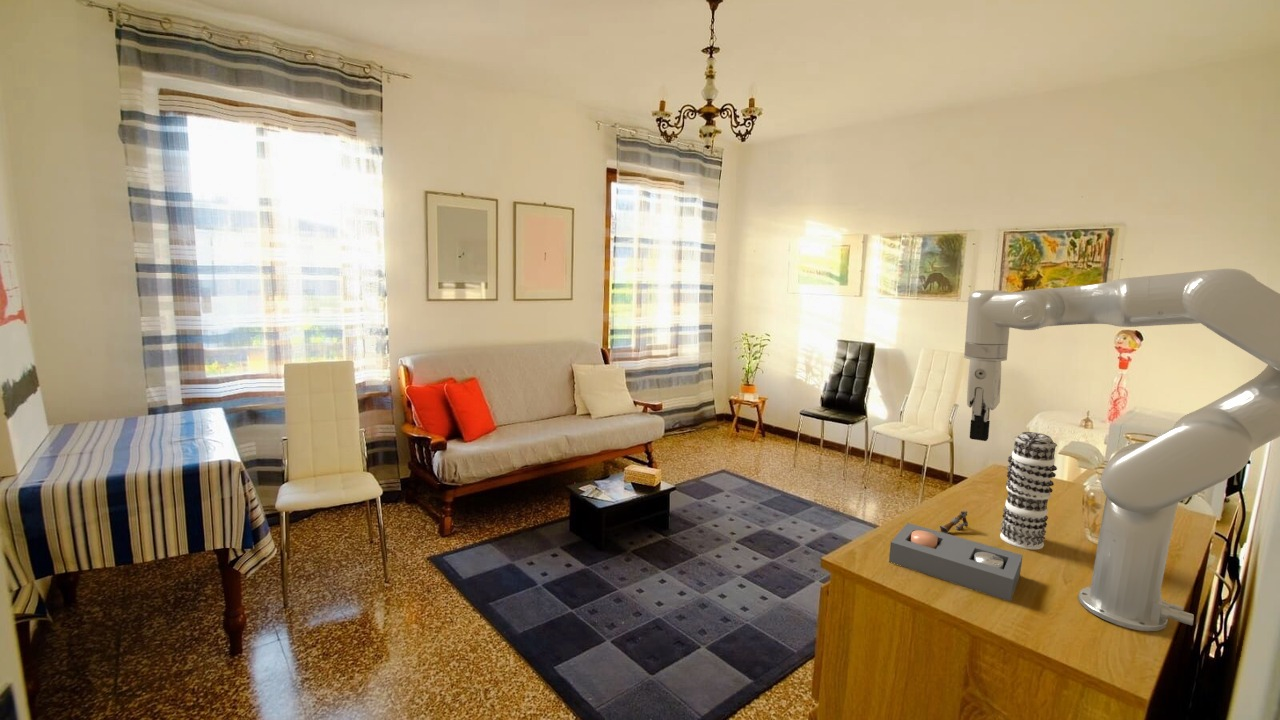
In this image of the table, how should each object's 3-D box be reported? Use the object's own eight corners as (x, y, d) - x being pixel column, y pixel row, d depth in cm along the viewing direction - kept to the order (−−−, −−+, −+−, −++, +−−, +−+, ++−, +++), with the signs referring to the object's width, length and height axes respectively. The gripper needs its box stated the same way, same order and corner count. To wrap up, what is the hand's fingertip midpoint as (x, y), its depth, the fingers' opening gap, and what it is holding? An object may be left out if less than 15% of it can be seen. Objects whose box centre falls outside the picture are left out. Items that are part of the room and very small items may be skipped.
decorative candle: (1006, 547, 131) (1020, 439, 127) (992, 529, 140) (1005, 427, 135) (1052, 553, 129) (1069, 443, 124) (1035, 533, 138) (1050, 430, 133)
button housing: (1019, 575, 119) (1022, 555, 119) (1010, 601, 110) (1013, 579, 109) (905, 541, 133) (907, 522, 132) (888, 561, 124) (890, 542, 123)
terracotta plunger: (938, 552, 126) (940, 535, 125) (932, 561, 122) (934, 543, 121) (913, 545, 129) (915, 528, 128) (906, 553, 125) (908, 536, 124)
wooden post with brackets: (973, 525, 140) (969, 510, 139) (949, 543, 138) (946, 528, 136) (966, 522, 142) (962, 507, 140) (943, 540, 139) (939, 525, 138)
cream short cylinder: (1003, 575, 118) (1005, 557, 118) (998, 586, 114) (1001, 567, 114) (974, 567, 121) (977, 549, 121) (969, 577, 118) (972, 558, 117)
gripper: (1002, 357, 111) (994, 451, 114) (1011, 348, 123) (1004, 434, 126) (958, 354, 116) (951, 444, 119) (970, 346, 128) (964, 428, 130)
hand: (978, 438), depth 122 cm, fingers closed
